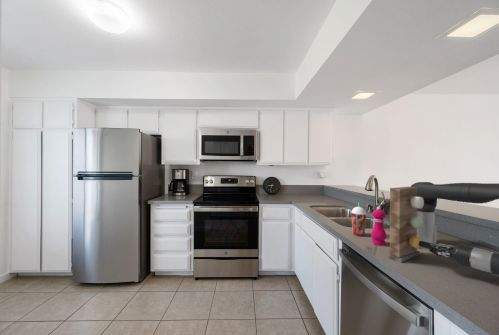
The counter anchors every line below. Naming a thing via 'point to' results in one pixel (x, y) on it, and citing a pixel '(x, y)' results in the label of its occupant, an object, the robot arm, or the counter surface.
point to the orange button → (415, 242)
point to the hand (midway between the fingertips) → (419, 243)
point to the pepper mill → (378, 228)
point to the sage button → (417, 222)
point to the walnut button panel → (402, 223)
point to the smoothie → (358, 220)
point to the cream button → (417, 202)
